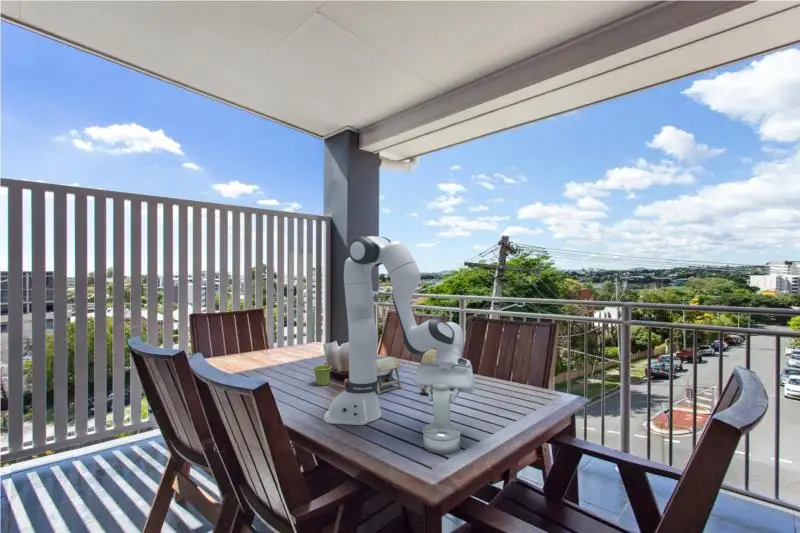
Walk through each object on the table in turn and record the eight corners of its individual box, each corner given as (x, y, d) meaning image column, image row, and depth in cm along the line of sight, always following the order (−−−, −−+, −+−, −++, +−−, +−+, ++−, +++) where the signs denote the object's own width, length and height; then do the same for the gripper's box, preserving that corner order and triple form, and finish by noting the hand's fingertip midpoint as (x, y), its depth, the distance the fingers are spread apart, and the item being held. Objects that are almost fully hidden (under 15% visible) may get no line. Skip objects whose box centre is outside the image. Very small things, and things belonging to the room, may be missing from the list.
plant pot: (311, 383, 195) (311, 366, 195) (329, 380, 199) (329, 364, 199) (315, 387, 186) (315, 370, 187) (334, 385, 190) (333, 368, 191)
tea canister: (434, 424, 120) (433, 387, 120) (432, 418, 125) (431, 382, 126) (452, 424, 120) (451, 386, 120) (449, 417, 126) (448, 381, 126)
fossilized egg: (432, 372, 213) (432, 345, 214) (449, 376, 204) (448, 349, 204) (416, 376, 205) (415, 348, 206) (432, 381, 196) (431, 352, 196)
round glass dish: (424, 455, 116) (424, 439, 116) (421, 437, 128) (421, 423, 129) (464, 454, 116) (464, 437, 117) (457, 436, 129) (456, 422, 129)
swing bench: (379, 395, 174) (379, 363, 174) (366, 390, 181) (366, 360, 181) (402, 388, 184) (401, 358, 185) (389, 384, 191) (388, 355, 191)
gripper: (416, 357, 133) (408, 393, 124) (474, 361, 126) (470, 399, 117) (420, 367, 137) (413, 403, 128) (477, 371, 130) (473, 409, 121)
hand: (441, 401), depth 122 cm, fingers closed on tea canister, 5 cm apart
